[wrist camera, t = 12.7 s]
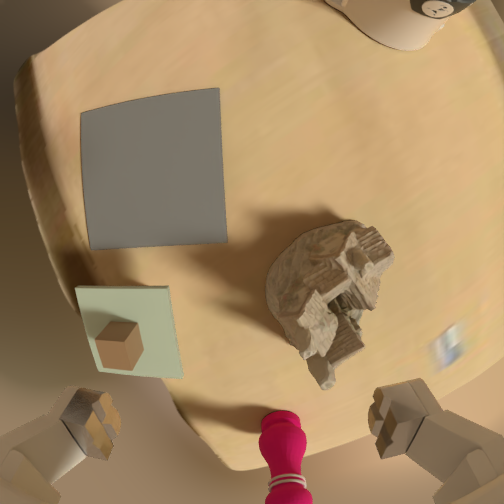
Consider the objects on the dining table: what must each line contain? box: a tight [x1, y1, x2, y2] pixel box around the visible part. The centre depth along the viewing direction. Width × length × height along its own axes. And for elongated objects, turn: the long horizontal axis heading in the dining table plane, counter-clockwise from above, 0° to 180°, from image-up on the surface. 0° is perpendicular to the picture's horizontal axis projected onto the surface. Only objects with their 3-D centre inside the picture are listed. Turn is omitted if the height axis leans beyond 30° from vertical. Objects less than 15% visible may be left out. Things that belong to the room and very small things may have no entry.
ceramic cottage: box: [265, 220, 395, 390], centre depth 29 cm, size 16×16×15 cm
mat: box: [81, 88, 228, 250], centre depth 32 cm, size 18×18×1 cm
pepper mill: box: [259, 411, 312, 504], centre depth 32 cm, size 7×7×20 cm
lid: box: [75, 286, 184, 379], centre depth 27 cm, size 11×11×5 cm
